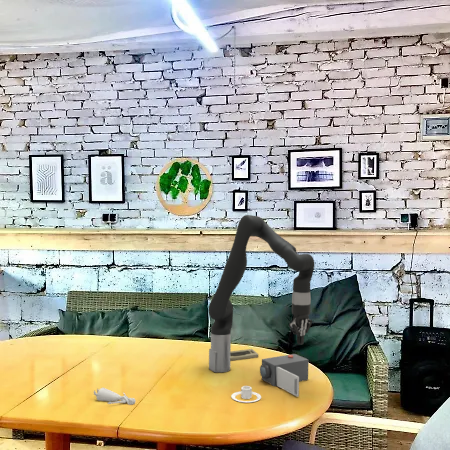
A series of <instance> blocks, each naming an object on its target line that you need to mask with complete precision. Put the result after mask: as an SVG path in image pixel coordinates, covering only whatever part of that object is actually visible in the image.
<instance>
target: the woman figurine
mask: <svg viewBox="0 0 450 450" xmlns="http://www.w3.org/2000/svg"><path fill="white" fill-rule="evenodd" d="M122 393H123V395H120V394H119V393H117V392H115V391H112V390H110V389H108V388H106V387H101V388H97V389H96V390H94V391H93V395H94V396H95V397H96V401H99V402H100V401H101V402H107V404H108V405H112V404H128V405H129V406H131V405H135V404H136V398H134V397H128V396H127V395H126V393H125V392H122Z"/></svg>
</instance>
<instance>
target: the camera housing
mask: <svg viewBox="0 0 450 450" xmlns="http://www.w3.org/2000/svg"><path fill="white" fill-rule="evenodd" d="M276 366H278V367H280V368H282V369H284V370H286V371H288V372H290V373H292V374H294V375H297V376H299V383H301V382H303V381H309V359H307V358H306V357H303V356H300V355H299V354H296V353H292V354H287V355H279V356H273V357H266V358H261V365H260V366H259V373H260V376H261V380H263V381H264V382H266V383H267V384H270V386H273V387H277V386H276Z"/></svg>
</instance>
